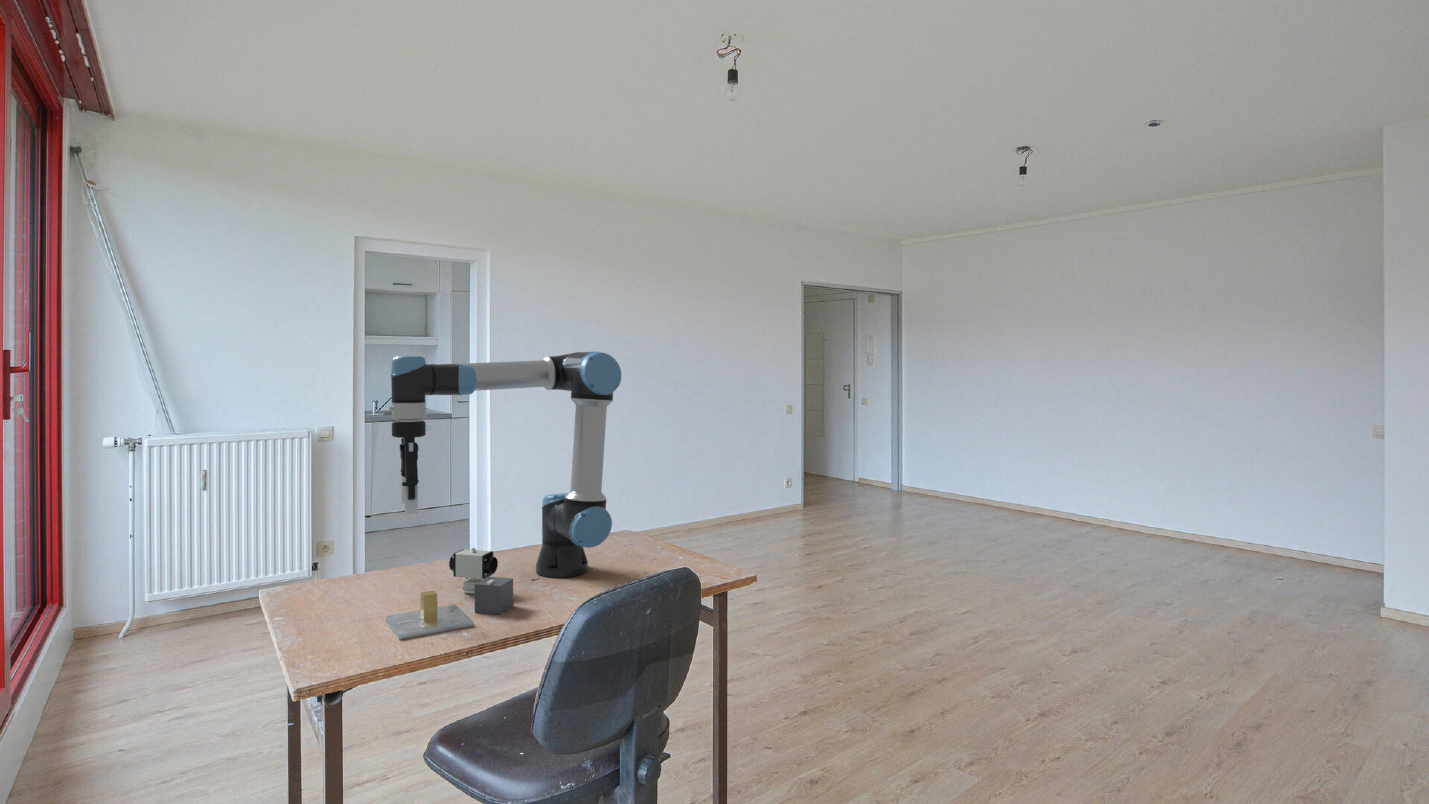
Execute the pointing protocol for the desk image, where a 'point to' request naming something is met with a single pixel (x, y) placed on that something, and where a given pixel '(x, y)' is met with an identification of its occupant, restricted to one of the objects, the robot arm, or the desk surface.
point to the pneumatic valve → (473, 567)
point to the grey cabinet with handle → (493, 595)
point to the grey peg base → (428, 619)
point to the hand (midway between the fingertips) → (409, 508)
